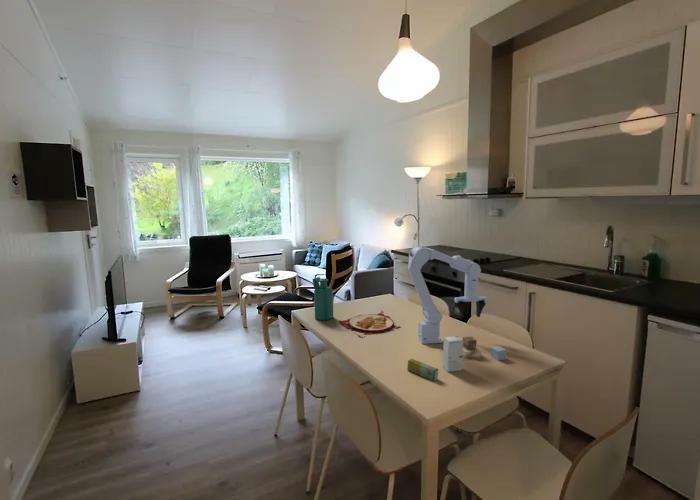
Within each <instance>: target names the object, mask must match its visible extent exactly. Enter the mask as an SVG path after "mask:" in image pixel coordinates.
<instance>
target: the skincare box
mask: <svg viewBox="0 0 700 500" xmlns="http://www.w3.org/2000/svg"><path fill="white" fill-rule="evenodd" d="M442 344H443V347H442V368H443V369H444V371H446V372H448V373H449V372H459V371H460V372H461V371H462V369H463V367H462V366H463V356H462V350H463V338H461V337H459V336H457V335H456V336H445V337H443V343H442Z"/></svg>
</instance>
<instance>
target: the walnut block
mask: <svg viewBox="0 0 700 500" xmlns="http://www.w3.org/2000/svg"><path fill="white" fill-rule="evenodd" d="M462 340H463V347H464V348H465V349H466V350H475V349H476V347H477V338H475V337H474V336H463V337H462Z"/></svg>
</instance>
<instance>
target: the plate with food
mask: <svg viewBox="0 0 700 500" xmlns="http://www.w3.org/2000/svg"><path fill="white" fill-rule="evenodd" d="M380 311H381V312H380V313H377V314H376V313H375V314H373V313H372V314H371V313H368V314H358V315H356V316H355V315H354V316H353V317H351V318H348V319H346V320H345V319H344V320H341V319H340V320H338V322H340V323H341V324H342V325H343V326H344V327H345V328H347V329H348V330H351V331H352V332H354V333H353V334H356V333H357V332H358V333H359V334H357V335H358V337H362V335H363V338H366V336H371V335H381V334H384V333H385V332H386V331H390V330H391V329H392V330H393V329H394V330H399V329H401V328H402V326H400V325H398V326H397V325H395V321H394V320H393V319H392V318H391V316H390V315H385V314H384V311H383V310H382V309H381V310H380ZM355 332H356V333H355ZM361 334H362V335H361Z"/></svg>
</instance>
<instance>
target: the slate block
mask: <svg viewBox="0 0 700 500" xmlns="http://www.w3.org/2000/svg"><path fill="white" fill-rule="evenodd" d="M490 358H492V359H494V360H495V361H496V362H497V361H498V362H499V361H503V360H506V359H507V349H505V348H503V347H501V346H499V345H498V346H492V347H491V348H490Z"/></svg>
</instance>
